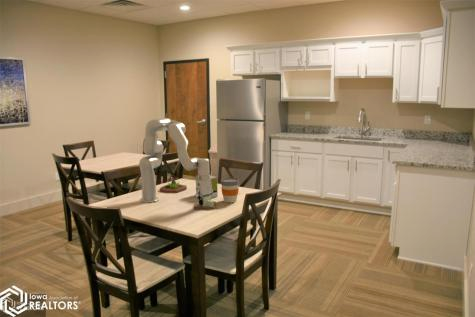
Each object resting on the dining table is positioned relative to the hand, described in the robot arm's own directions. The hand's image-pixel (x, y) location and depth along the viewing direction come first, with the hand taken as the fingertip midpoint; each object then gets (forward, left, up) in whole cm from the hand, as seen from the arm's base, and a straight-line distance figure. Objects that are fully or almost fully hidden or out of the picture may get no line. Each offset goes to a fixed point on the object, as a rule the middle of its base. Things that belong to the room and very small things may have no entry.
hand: (204, 203), depth 251 cm
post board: (0, 0, -2) cm, 2 cm away
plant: (-47, -27, -3) cm, 55 cm away
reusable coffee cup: (-12, +17, -2) cm, 21 cm away
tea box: (-27, 0, -2) cm, 27 cm away
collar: (+2, +2, -1) cm, 3 cm away
